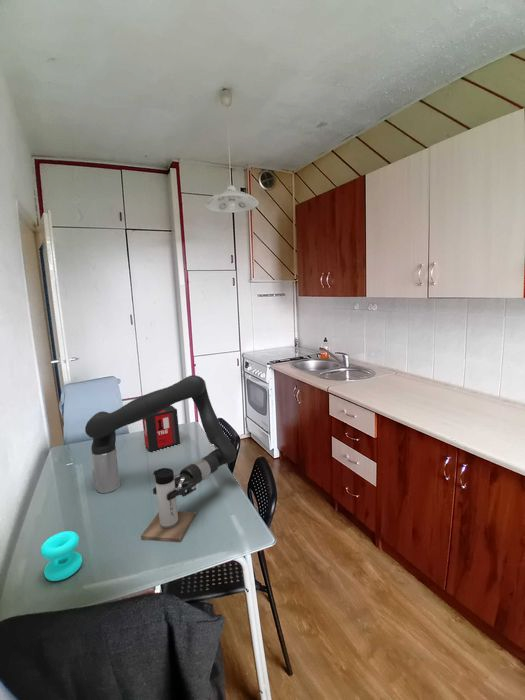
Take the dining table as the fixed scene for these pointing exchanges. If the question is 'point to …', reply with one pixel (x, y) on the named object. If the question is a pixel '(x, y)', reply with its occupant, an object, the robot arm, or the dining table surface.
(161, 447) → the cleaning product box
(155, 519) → the walnut board
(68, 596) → the dining table surface
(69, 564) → the cyan spool
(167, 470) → the travel mug
